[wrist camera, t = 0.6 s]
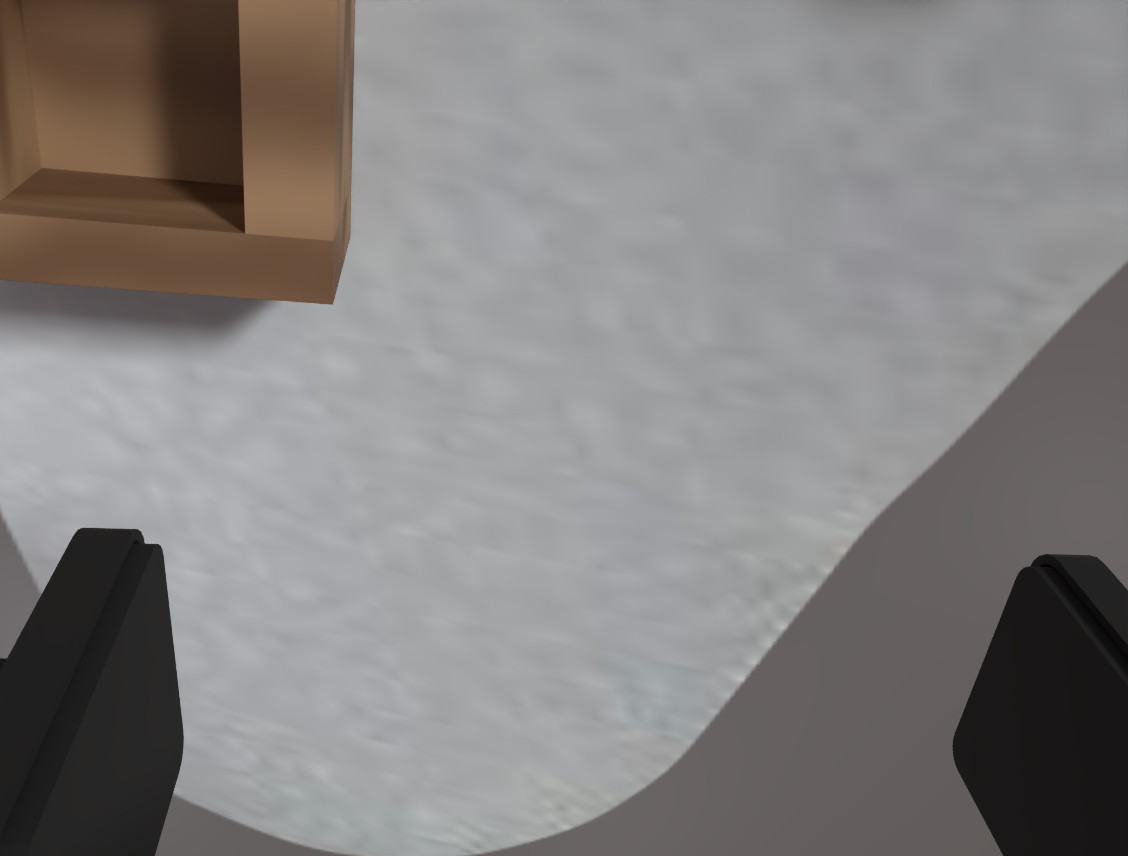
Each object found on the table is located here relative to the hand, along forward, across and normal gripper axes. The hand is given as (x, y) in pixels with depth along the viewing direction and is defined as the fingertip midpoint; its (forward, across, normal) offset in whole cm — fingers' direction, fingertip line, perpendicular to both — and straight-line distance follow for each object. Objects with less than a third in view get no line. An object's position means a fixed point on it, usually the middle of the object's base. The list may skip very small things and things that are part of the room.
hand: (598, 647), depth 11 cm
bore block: (+27, +11, -1) cm, 29 cm away
